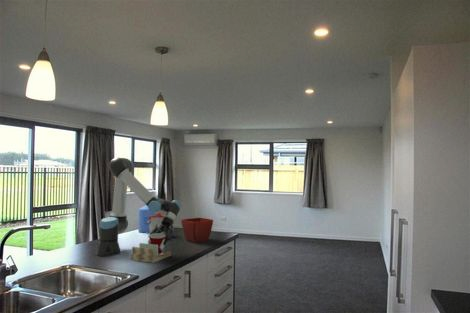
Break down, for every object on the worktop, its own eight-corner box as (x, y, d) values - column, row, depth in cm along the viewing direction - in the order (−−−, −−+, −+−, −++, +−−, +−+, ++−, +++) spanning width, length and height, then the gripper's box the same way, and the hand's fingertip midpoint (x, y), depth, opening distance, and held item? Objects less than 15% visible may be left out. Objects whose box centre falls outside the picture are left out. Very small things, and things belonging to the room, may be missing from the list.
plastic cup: (148, 255, 218) (149, 236, 218) (148, 251, 228) (148, 233, 229) (166, 254, 221) (166, 236, 221) (165, 250, 231) (165, 232, 231)
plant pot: (180, 240, 277) (180, 219, 277) (199, 237, 289) (199, 217, 290) (193, 244, 262) (194, 222, 263) (213, 241, 275) (213, 219, 276)
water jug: (134, 232, 313) (135, 201, 314) (146, 229, 327) (147, 199, 328) (147, 233, 306) (148, 201, 307) (159, 230, 320) (159, 200, 321)
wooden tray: (130, 259, 216) (131, 247, 216) (149, 253, 233) (149, 241, 234) (153, 262, 209) (153, 249, 209) (170, 255, 227) (171, 243, 227)
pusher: (139, 255, 221) (139, 243, 221) (140, 255, 222) (140, 243, 222) (157, 258, 215) (157, 245, 216) (157, 257, 216) (158, 244, 217)
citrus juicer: (145, 235, 299) (145, 211, 300) (165, 233, 306) (165, 211, 307) (148, 238, 285) (149, 213, 286) (169, 236, 292) (169, 212, 293)
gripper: (184, 224, 235) (171, 253, 220) (157, 222, 243) (142, 249, 228) (180, 217, 230) (166, 246, 215) (153, 215, 239) (137, 243, 224)
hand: (154, 248), depth 222 cm, fingers closed on plastic cup, 9 cm apart
